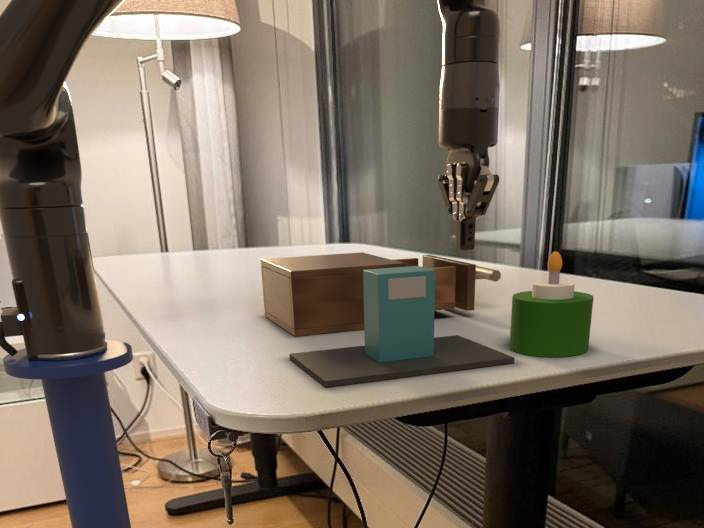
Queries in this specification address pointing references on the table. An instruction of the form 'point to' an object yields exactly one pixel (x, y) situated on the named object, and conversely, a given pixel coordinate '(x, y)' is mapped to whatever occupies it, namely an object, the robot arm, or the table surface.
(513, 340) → the candle
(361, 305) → the cabinet
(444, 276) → the drawer
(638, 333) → the table surface
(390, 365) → the mat
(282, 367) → the table surface
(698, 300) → the table surface
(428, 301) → the teal labeled box
